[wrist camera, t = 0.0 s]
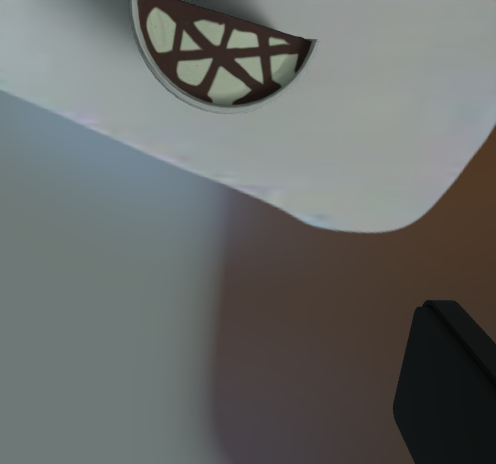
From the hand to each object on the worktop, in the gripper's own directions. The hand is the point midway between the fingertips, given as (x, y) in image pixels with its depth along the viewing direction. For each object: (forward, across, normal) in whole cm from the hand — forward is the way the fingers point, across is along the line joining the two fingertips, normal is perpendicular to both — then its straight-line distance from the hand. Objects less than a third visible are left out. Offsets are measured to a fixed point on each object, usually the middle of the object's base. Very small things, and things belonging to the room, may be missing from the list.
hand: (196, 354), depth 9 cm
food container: (+32, 0, -5) cm, 32 cm away
